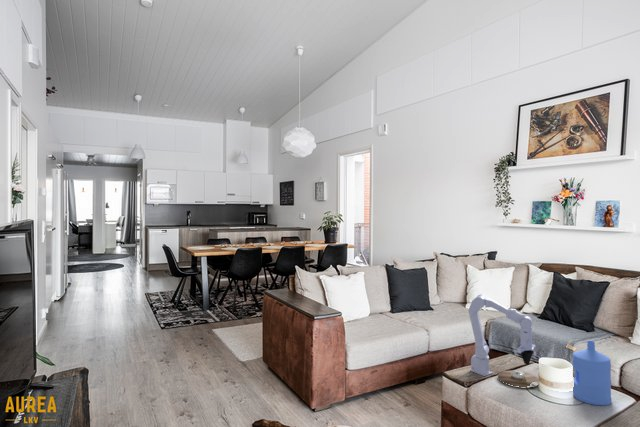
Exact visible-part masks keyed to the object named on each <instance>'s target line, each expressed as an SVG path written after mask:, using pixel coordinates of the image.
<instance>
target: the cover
mask: <svg viewBox="0 0 640 427" xmlns="http://www.w3.org/2000/svg"><path fill="white" fill-rule="evenodd" d="M511 371H512V372H511V378H513V379H515V380H523V378H525V373H526V372H524V371H520V370H511ZM523 372H524V373H523Z"/></svg>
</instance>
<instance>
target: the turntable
mask: <svg viewBox="0 0 640 427" xmlns="http://www.w3.org/2000/svg"><path fill="white" fill-rule="evenodd" d="M512 371H513V370H503V371H500V372H499V373H498V374H497V378H499V379H498V381H500V380H501V381H502V382H504V383H507V384H510V385H513V386H519V387H527V386H530V384H531V383H532V382H535V381H538V380H539V378H538V377H536V376H535V375H533V374H532V373H531V374H530V373H529V372H528V373H527V372H524V371H522V372H523V373H525V378H523V380H515V379H513V378H511V372H512ZM501 381H500V382H501ZM502 382H501V383H502ZM504 383H503V384H504ZM513 386H512V387H513Z"/></svg>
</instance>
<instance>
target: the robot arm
mask: <svg viewBox="0 0 640 427" xmlns="http://www.w3.org/2000/svg"><path fill="white" fill-rule="evenodd" d="M483 308H492V309H494V310H496V311H498V312H501V313H502V314H503V315H505V316H506V319H507V318H508V319H509V320H511V321H513V322H514V323H515V324H519V326H520V330H519V331H520V335H519V336H520V346H519V347H518V348H516V353H518V354H521V357H522V360H523V364H525V365H530V362H531V358H532V356H533V354H534V351H535V349H536V350H537V344H533V327H532V326H533V319H532V317H530V316H529V315H527V314H524V313H521V312H519V311H517V309H516V308H507V307H506V306H504V305H502V304H500V303H499V302H497V301H496V300H494V299H492V298H491V297H489V296H486V295H485V294H478V295H477V296H476V297H474V298H473V300H471V302H470V304H469V308H468V314H469V319H470V323H471V328H472V332H473V336H474V337H473V338H474V340H475V341H474V343H475V344H474V347H475V350H474V354H473V355H472V356H471V358H470V368H471V369H470V372H472V373H475V374H477V375H480V376H483V377H486V376H489V375H491V374H494V373H493V371H490V356H489V353H490V346H489V345H488V344H487V341H486V340H485V336H484V331H483V328H482V324H481V321H480V316H479V315H480V314H479V311H480V310H481V309H483Z"/></svg>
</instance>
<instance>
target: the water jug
mask: <svg viewBox="0 0 640 427" xmlns="http://www.w3.org/2000/svg"><path fill="white" fill-rule="evenodd" d="M586 342H587V344H586V346H587V347H586V349H583V350H577V351H574V352H573V353H572V366H573V368H574V369H575V378H574V388H573V389H572V395H573V396H574V397H575V399H577V400H578V401H580V402H582V403H586V404H589V405H592V406H608V405H611V403H612V389H611V388H612V376H611V374H612V373H611V368H612V364H611V358H610V357H608V356H607V355H605V354H603V353H601V352H599V351H597V350H596V346H595V344H596V342H595V341H593V340H586Z"/></svg>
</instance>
